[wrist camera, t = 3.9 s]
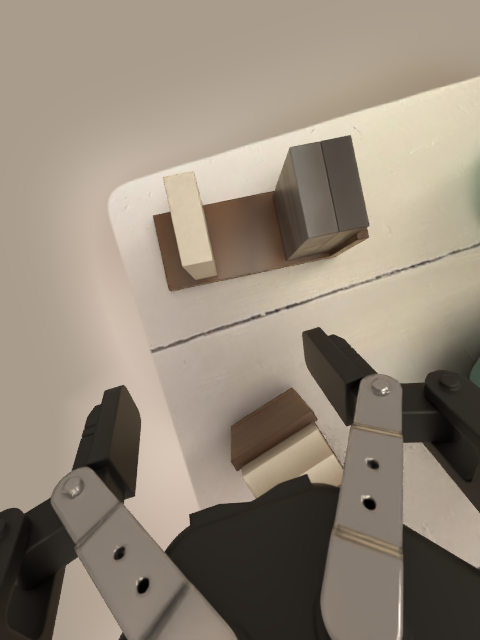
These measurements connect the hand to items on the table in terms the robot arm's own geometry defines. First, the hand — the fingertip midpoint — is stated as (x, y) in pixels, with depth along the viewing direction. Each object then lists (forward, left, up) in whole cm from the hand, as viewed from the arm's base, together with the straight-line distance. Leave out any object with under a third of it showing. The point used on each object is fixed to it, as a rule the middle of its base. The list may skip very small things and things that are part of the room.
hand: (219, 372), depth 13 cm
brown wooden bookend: (+4, +10, -19) cm, 22 cm away
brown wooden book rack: (+5, -17, -19) cm, 26 cm away
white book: (-1, +10, -18) cm, 21 cm away
